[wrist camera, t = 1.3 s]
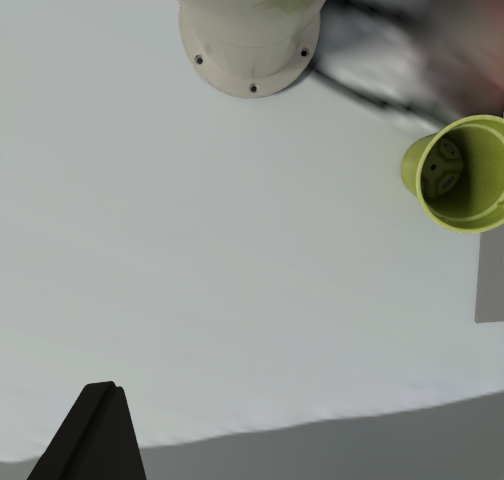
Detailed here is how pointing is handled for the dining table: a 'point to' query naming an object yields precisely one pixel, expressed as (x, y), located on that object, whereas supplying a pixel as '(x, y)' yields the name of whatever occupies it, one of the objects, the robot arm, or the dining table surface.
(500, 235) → the mat
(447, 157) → the plant pot
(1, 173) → the dining table surface
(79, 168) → the dining table surface
